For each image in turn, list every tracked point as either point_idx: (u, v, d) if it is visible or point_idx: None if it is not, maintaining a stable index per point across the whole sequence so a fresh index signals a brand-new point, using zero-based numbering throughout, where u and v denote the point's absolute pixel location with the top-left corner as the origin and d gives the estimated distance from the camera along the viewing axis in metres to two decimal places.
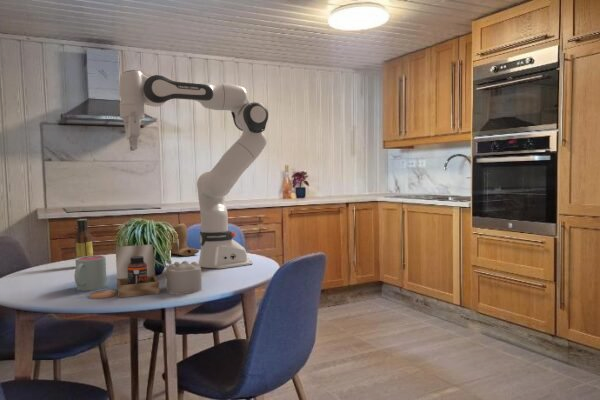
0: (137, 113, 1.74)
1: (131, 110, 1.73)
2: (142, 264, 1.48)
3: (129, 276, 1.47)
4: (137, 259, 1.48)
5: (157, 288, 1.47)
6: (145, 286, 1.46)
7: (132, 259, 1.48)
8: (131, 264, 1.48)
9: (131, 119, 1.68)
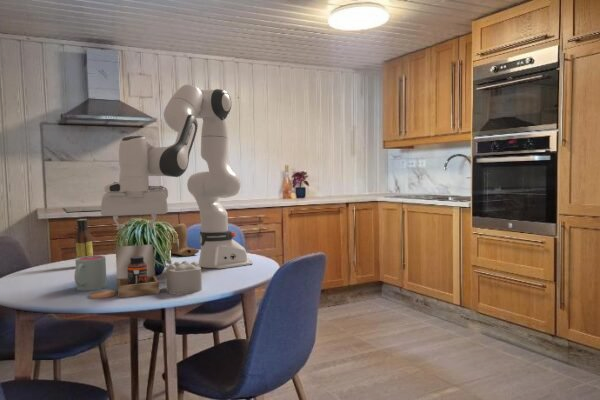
0: None
1: (148, 184, 1.49)
2: (142, 264, 1.48)
3: (129, 276, 1.47)
4: (137, 259, 1.48)
5: (157, 288, 1.47)
6: (145, 286, 1.46)
7: (132, 259, 1.48)
8: (131, 264, 1.48)
9: (165, 195, 1.51)
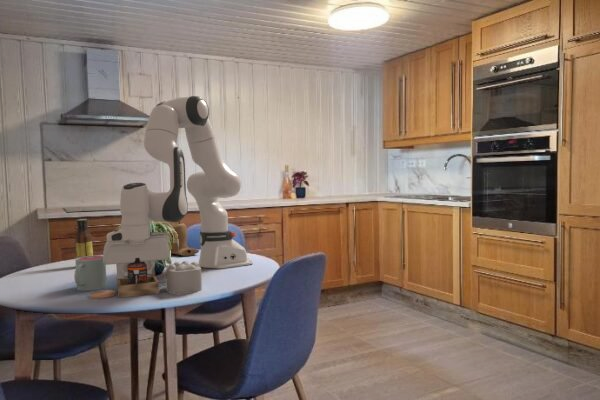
0: None
1: None
2: (142, 264, 1.48)
3: (129, 276, 1.47)
4: (137, 259, 1.48)
5: (157, 288, 1.47)
6: (145, 286, 1.46)
7: None
8: (131, 264, 1.48)
9: (166, 241, 1.52)
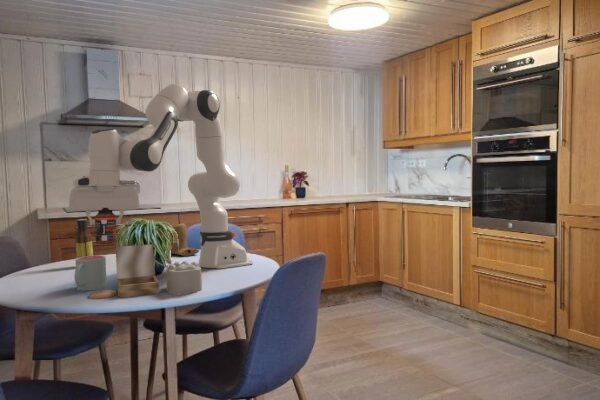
0: None
1: (119, 178, 1.45)
2: (110, 214, 1.43)
3: (96, 226, 1.42)
4: (105, 209, 1.43)
5: (157, 288, 1.47)
6: (145, 286, 1.46)
7: None
8: (99, 214, 1.42)
9: (137, 191, 1.47)
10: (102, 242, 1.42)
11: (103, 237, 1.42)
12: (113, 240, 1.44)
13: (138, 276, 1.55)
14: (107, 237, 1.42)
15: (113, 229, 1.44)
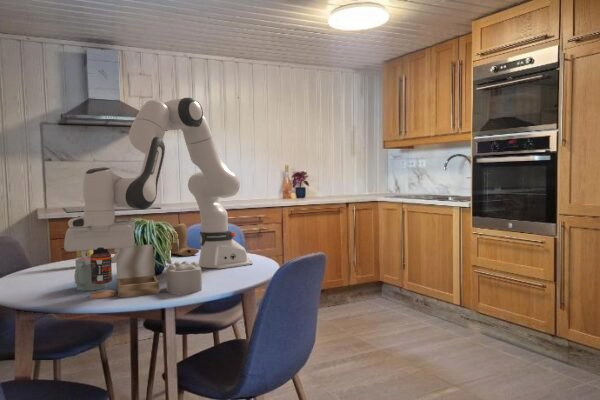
0: None
1: (114, 217, 1.45)
2: (106, 254, 1.44)
3: (92, 266, 1.43)
4: (100, 249, 1.43)
5: (157, 288, 1.47)
6: (145, 286, 1.46)
7: None
8: (94, 254, 1.43)
9: (132, 228, 1.47)
10: (98, 282, 1.42)
11: (98, 277, 1.42)
12: (109, 279, 1.44)
13: (138, 276, 1.55)
14: (103, 277, 1.43)
15: (109, 269, 1.44)
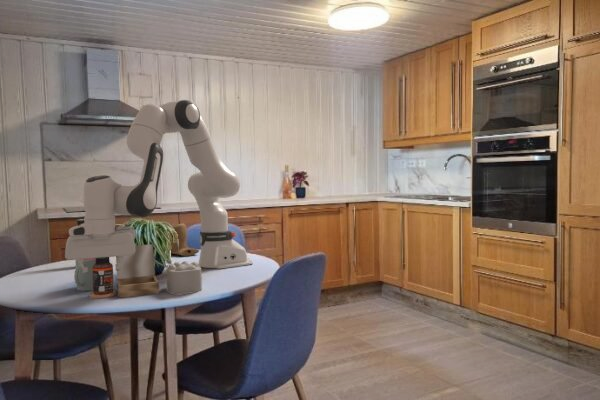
0: None
1: None
2: (107, 265, 1.44)
3: (94, 277, 1.43)
4: (102, 259, 1.43)
5: (157, 288, 1.47)
6: (145, 286, 1.46)
7: (97, 260, 1.43)
8: (96, 265, 1.43)
9: (132, 236, 1.47)
10: (99, 293, 1.43)
11: (100, 288, 1.43)
12: (110, 290, 1.45)
13: (138, 276, 1.55)
14: (105, 288, 1.43)
15: (110, 279, 1.44)
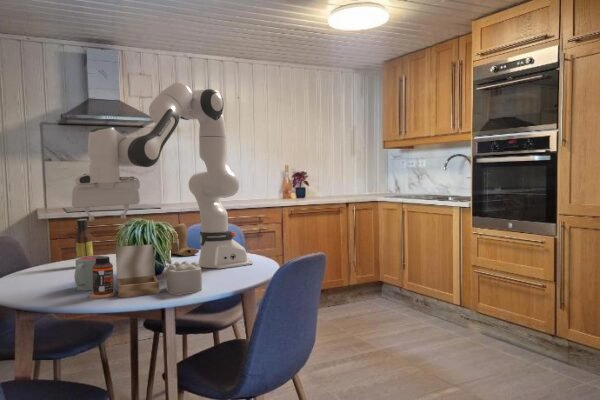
0: None
1: (119, 175, 1.50)
2: (108, 265, 1.44)
3: (94, 277, 1.43)
4: (102, 259, 1.43)
5: (157, 288, 1.47)
6: (145, 286, 1.46)
7: (97, 260, 1.43)
8: (96, 265, 1.43)
9: (136, 186, 1.52)
10: (99, 293, 1.43)
11: (100, 288, 1.43)
12: (110, 290, 1.45)
13: (138, 276, 1.55)
14: (105, 288, 1.43)
15: (110, 279, 1.44)
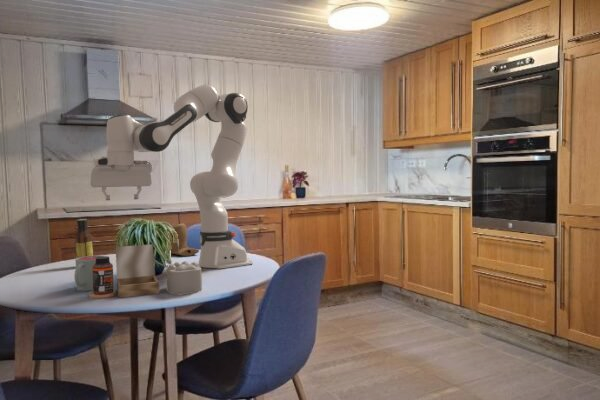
0: None
1: (133, 158, 1.65)
2: (108, 265, 1.44)
3: (94, 277, 1.43)
4: (102, 259, 1.43)
5: (157, 288, 1.47)
6: (145, 286, 1.46)
7: (97, 260, 1.43)
8: (96, 265, 1.43)
9: (149, 169, 1.66)
10: (99, 293, 1.43)
11: (100, 288, 1.43)
12: (110, 290, 1.45)
13: (138, 276, 1.55)
14: (105, 288, 1.43)
15: (110, 279, 1.44)
